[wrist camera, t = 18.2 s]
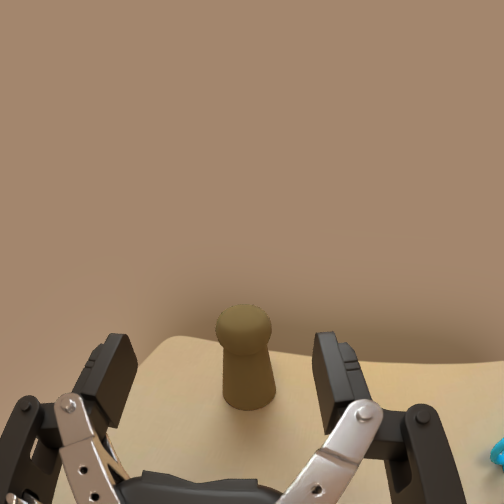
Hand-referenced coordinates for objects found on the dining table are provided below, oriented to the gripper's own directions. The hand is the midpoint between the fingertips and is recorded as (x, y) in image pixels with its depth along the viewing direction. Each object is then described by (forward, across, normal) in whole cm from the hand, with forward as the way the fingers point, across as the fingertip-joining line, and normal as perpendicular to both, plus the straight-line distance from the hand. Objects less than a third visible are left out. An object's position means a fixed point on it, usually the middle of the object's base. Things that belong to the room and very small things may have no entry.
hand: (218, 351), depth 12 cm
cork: (+12, 0, +19) cm, 23 cm away
